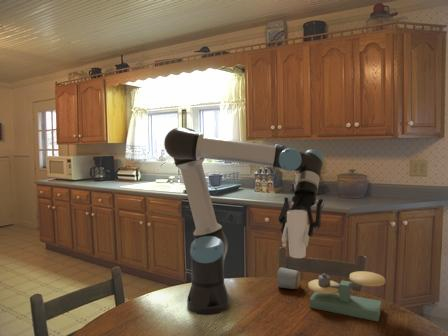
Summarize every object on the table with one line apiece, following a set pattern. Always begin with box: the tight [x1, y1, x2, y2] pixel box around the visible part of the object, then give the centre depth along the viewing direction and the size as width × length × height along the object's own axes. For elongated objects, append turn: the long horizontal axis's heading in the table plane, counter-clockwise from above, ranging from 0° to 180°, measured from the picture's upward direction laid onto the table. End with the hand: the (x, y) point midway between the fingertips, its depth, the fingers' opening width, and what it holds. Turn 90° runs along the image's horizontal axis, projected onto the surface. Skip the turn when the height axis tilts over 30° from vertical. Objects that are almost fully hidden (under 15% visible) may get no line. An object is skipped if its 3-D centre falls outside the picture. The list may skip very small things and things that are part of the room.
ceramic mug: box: [276, 267, 301, 290], centre depth 141 cm, size 11×8×8 cm
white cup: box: [286, 209, 309, 259], centre depth 117 cm, size 7×7×15 cm
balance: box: [307, 270, 386, 322], centre depth 121 cm, size 25×11×12 cm, turn 62°
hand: (294, 243), depth 114 cm, fingers closed on white cup, 7 cm apart
